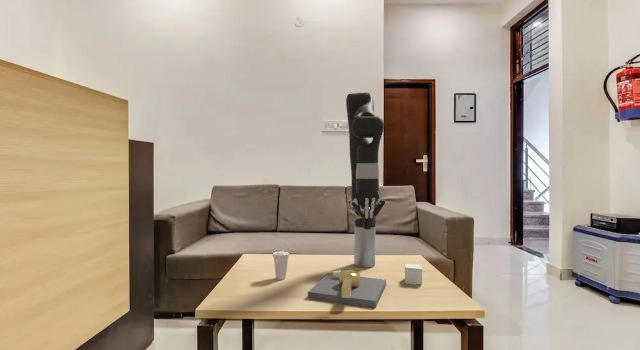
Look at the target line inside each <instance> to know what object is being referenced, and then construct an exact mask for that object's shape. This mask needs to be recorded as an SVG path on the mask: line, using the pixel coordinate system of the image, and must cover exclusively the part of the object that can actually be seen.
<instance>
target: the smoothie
mask: <svg viewBox="0 0 640 350" xmlns="http://www.w3.org/2000/svg"><path fill="white" fill-rule="evenodd" d="M272 257H273V261H274V262H273V263H274V273H275V279H276V281H277V280H279V281H282V280H286V278H287V272H288V264H289V263H288V262H289V257H290V252H288V251H284V241H281V250H279V251H275V252H273V253H272Z"/></svg>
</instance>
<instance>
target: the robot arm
mask: <svg viewBox="0 0 640 350" xmlns="http://www.w3.org/2000/svg"><path fill="white" fill-rule="evenodd" d="M345 102H346V103H345V104H346V105H345V106H346V115H347V124H348V125H347V126H348V135H349V136H348V137H349V138H348V140H349V142H348V144H349V163H350V173H351V199H350V200H351V201H349V202H348V204H349V206H350V207H351V209H352V211H354V213H355V214H356V216H357V217H358V218H356V219H355V220H354V240H353V241H354V246H353V247H354V249H353V250H354V251H353V252H354V253H353V254H354V255H353V257H354V258H353V261H354V263H353V264H354V266H355V267H359V268H373V267H375V266H376V227H377V225H376V223H377V222H376V219H377V216H378V214H379V213H380V212H381V210H382V208H383V207H384V205H385V204H386V201H385V200H383V199H381V198H380V195H379V191H380V188H379V187H380V169H379V167H380V166H379V148H380V144H381V139H382V136H383V132H384V129H385V121H384V119H383V118H382V117H381V116H377V115H375V105H374V104H375V103H374V97H373V95H372V94H371V93H370V92H355V93H352V92H351V93H348V94H347V95H346V99H345ZM370 138H371V139H372V140H371V141H369V140H368V139H370Z"/></svg>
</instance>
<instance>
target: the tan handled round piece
mask: <svg viewBox="0 0 640 350" xmlns="http://www.w3.org/2000/svg"><path fill="white" fill-rule="evenodd" d="M340 271H341V272H339V285H340V286H341V287H342V298H350V294H351V289H352V288H357V287H359V286H360V277H361V274H360V272H359V271H356V270H349V269H347V270H340Z"/></svg>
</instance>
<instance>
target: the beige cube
mask: <svg viewBox="0 0 640 350" xmlns="http://www.w3.org/2000/svg"><path fill="white" fill-rule="evenodd" d="M404 283H407V284H406V285H416V284H422V285H423V267H422V264H415V263H405V264H404Z"/></svg>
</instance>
